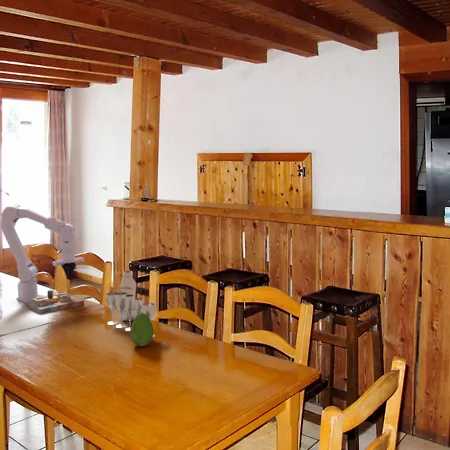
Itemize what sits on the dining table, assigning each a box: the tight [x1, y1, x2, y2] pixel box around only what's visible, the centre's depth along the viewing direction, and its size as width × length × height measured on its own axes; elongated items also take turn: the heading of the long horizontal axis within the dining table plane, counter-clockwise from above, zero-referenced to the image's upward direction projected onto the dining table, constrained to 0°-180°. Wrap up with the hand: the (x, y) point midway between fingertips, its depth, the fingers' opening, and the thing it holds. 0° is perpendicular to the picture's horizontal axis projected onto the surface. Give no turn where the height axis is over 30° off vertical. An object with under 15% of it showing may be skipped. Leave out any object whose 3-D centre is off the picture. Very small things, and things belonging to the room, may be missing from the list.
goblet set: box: [105, 291, 157, 338], centre depth 210 cm, size 28×6×13 cm, turn 47°
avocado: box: [130, 313, 154, 347], centre depth 193 cm, size 8×8×12 cm
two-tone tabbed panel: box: [24, 292, 85, 315], centre depth 243 cm, size 20×15×4 cm
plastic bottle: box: [119, 270, 137, 322], centre depth 221 cm, size 6×7×20 cm
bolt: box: [39, 289, 58, 303], centre depth 241 cm, size 8×2×5 cm, turn 133°
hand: (69, 279), depth 253 cm, fingers closed
